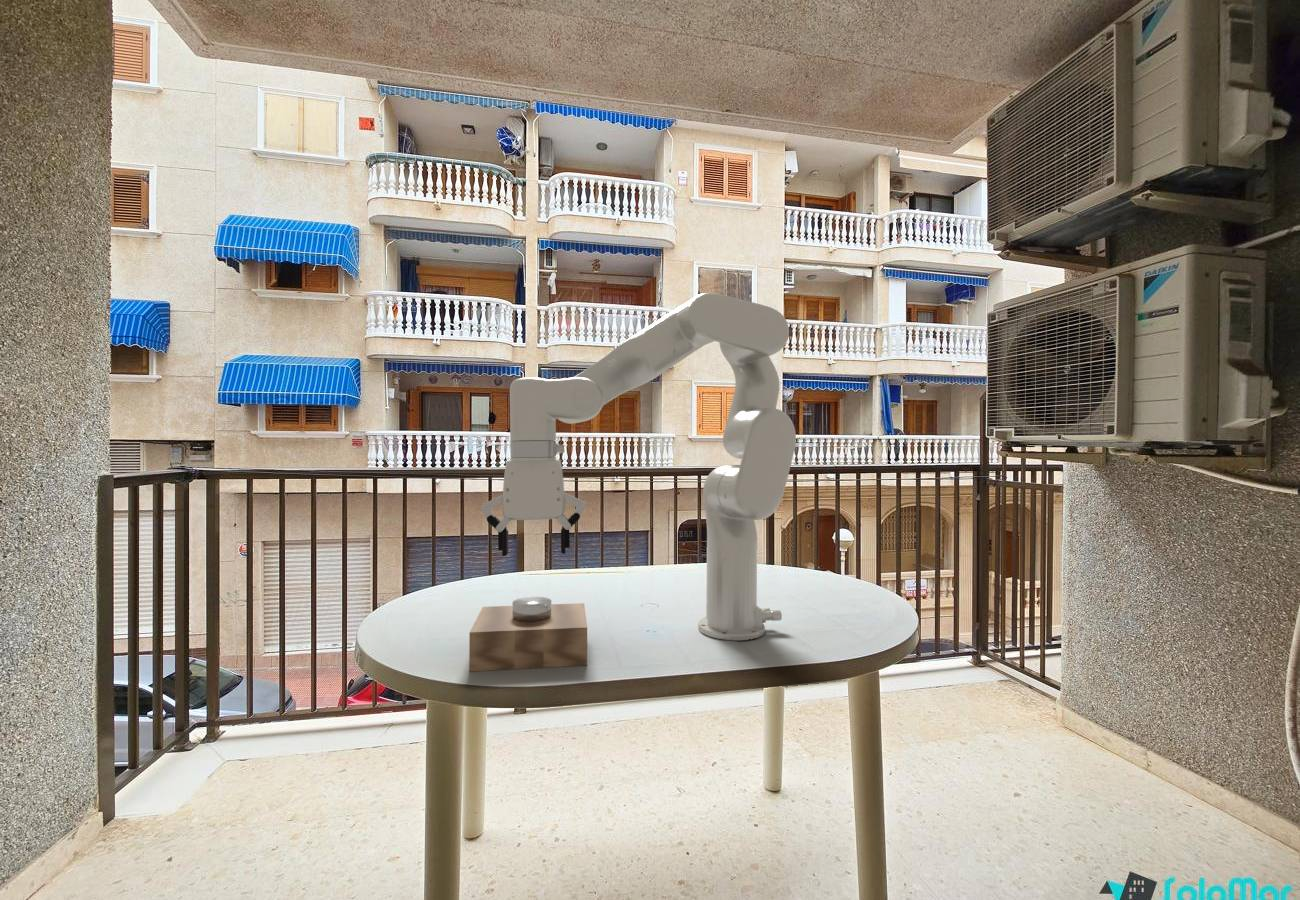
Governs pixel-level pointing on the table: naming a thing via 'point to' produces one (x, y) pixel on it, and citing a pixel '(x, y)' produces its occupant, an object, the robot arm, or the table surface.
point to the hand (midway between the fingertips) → (534, 553)
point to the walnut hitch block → (528, 639)
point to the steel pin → (531, 609)
